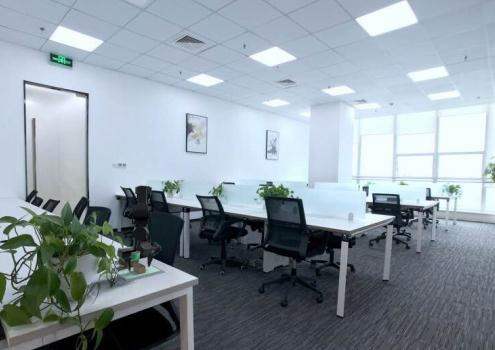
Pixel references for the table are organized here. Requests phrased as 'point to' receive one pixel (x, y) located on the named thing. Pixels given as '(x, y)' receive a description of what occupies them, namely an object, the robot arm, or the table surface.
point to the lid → (138, 272)
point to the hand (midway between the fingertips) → (139, 269)
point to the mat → (138, 278)
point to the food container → (134, 259)
